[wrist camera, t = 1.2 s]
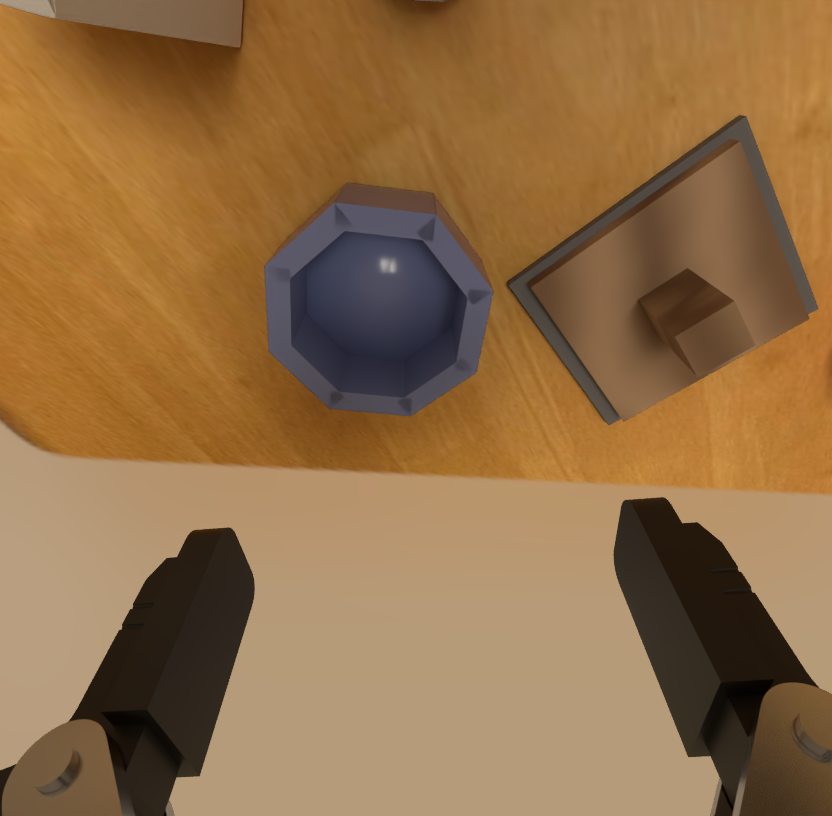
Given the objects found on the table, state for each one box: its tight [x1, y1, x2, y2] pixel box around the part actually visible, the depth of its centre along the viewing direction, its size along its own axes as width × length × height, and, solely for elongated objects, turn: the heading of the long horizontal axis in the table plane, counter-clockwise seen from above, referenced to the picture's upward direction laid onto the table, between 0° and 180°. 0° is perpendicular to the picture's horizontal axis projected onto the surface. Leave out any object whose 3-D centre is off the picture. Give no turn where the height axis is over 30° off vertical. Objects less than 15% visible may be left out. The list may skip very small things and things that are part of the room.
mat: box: [507, 115, 818, 425], centre depth 31 cm, size 14×13×1 cm
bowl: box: [264, 183, 493, 416], centre depth 28 cm, size 11×11×6 cm
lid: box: [528, 139, 809, 422], centre depth 28 cm, size 12×12×6 cm
